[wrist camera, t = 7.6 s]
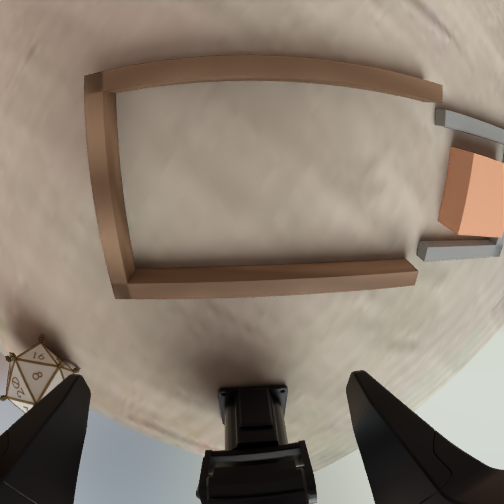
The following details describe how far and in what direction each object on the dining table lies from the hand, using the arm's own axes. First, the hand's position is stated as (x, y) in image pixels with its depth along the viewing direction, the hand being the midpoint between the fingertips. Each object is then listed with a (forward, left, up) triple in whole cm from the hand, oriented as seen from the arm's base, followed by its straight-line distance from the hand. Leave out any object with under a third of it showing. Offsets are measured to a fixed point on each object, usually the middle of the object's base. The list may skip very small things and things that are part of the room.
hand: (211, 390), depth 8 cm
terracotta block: (+4, -20, -12) cm, 24 cm away
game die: (-12, +18, -12) cm, 25 cm away
